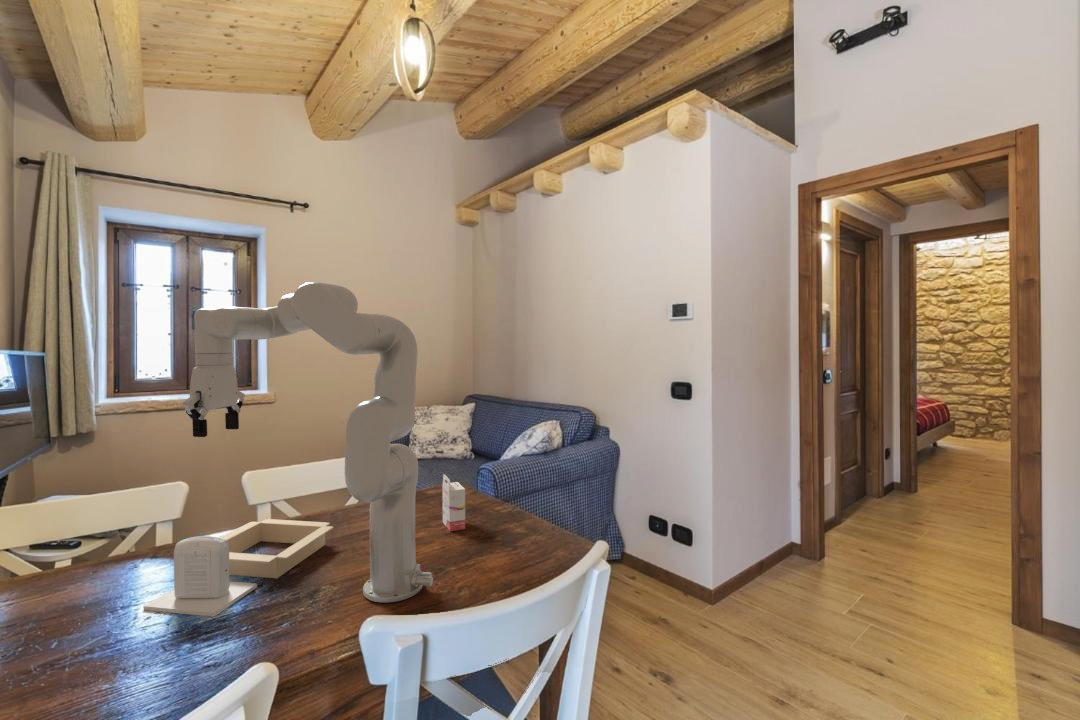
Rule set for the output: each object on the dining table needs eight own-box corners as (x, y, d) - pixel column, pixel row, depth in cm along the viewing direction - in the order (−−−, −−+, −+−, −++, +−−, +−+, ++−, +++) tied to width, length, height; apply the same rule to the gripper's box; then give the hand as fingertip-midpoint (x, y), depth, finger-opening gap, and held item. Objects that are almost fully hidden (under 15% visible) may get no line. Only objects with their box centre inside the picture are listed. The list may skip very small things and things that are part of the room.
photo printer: (233, 589, 109) (232, 532, 109) (222, 599, 105) (220, 540, 104) (184, 590, 109) (182, 533, 108) (170, 600, 104) (168, 541, 104)
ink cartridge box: (466, 529, 145) (466, 478, 145) (449, 532, 143) (449, 480, 143) (458, 519, 153) (457, 471, 153) (442, 522, 151) (441, 473, 150)
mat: (257, 587, 112) (256, 583, 112) (213, 616, 100) (213, 612, 100) (193, 581, 114) (192, 578, 114) (143, 610, 102) (143, 606, 102)
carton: (339, 541, 137) (338, 523, 137) (279, 584, 113) (279, 562, 113) (258, 536, 141) (257, 518, 140) (184, 576, 117) (183, 555, 116)
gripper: (228, 359, 129) (230, 426, 130) (168, 362, 112) (171, 439, 113) (255, 359, 128) (256, 426, 129) (198, 362, 111) (201, 440, 112)
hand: (216, 432), depth 121 cm, fingers open, 9 cm apart
